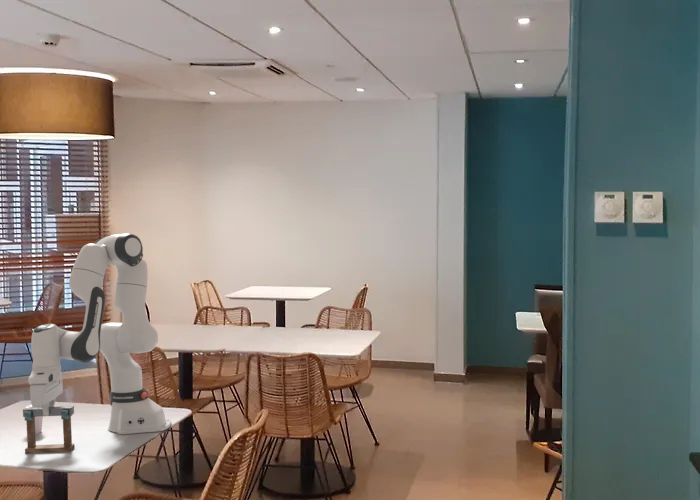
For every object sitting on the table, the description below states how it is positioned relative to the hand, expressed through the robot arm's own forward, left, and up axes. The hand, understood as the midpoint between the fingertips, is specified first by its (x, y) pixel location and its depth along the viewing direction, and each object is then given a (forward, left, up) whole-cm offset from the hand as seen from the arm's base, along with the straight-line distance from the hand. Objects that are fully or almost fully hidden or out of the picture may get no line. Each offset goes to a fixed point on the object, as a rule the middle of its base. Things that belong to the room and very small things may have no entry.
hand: (48, 414), depth 254 cm
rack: (0, 0, -13) cm, 13 cm away
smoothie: (+13, -23, -13) cm, 29 cm away
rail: (0, 0, 0) cm, 0 cm away
